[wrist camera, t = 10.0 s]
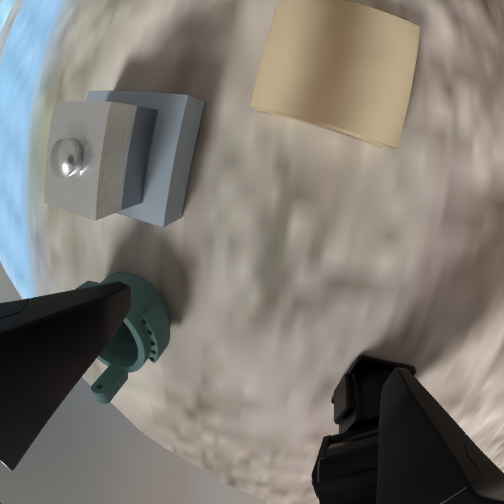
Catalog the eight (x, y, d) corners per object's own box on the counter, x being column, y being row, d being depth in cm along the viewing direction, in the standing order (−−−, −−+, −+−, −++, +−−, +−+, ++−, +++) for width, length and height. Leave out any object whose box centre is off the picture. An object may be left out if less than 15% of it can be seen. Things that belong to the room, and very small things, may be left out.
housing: (158, 109, 16) (101, 100, 11) (142, 202, 19) (86, 224, 13) (103, 105, 17) (45, 101, 11) (91, 189, 19) (36, 205, 14)
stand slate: (205, 102, 18) (188, 95, 15) (181, 217, 22) (163, 227, 19) (111, 94, 19) (88, 91, 16) (96, 193, 22) (74, 199, 20)
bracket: (142, 354, 28) (101, 408, 20) (89, 291, 27) (35, 333, 19) (194, 324, 25) (151, 390, 17) (131, 247, 24) (64, 290, 16)
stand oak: (407, 41, 13) (420, 26, 11) (385, 148, 17) (397, 148, 14) (287, 6, 14) (282, -13, 12) (258, 111, 18) (249, 104, 15)
